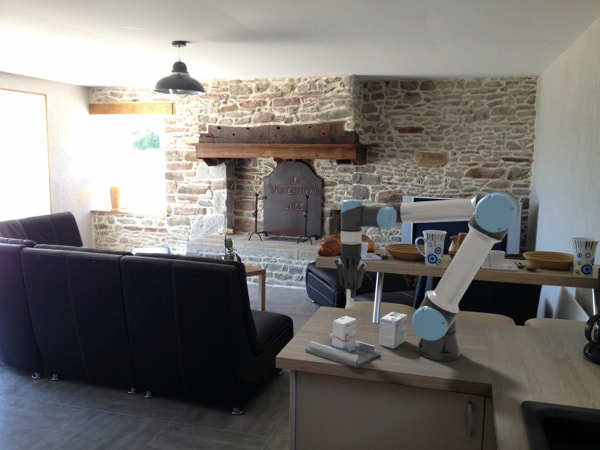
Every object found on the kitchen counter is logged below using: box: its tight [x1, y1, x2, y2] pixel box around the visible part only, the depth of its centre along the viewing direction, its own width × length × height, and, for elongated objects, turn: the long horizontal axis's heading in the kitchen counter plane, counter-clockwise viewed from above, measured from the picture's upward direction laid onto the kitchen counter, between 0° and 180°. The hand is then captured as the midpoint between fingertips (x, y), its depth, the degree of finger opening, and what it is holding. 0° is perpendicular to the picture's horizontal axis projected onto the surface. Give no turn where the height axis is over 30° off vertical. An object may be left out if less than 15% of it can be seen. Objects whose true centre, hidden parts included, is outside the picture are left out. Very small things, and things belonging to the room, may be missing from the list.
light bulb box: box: [378, 311, 408, 349], centre depth 202 cm, size 11×7×11 cm, turn 145°
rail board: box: [304, 332, 381, 369], centre depth 191 cm, size 22×16×4 cm
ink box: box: [332, 315, 358, 352], centre depth 190 cm, size 9×5×12 cm, turn 141°
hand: (350, 306), depth 193 cm, fingers closed
